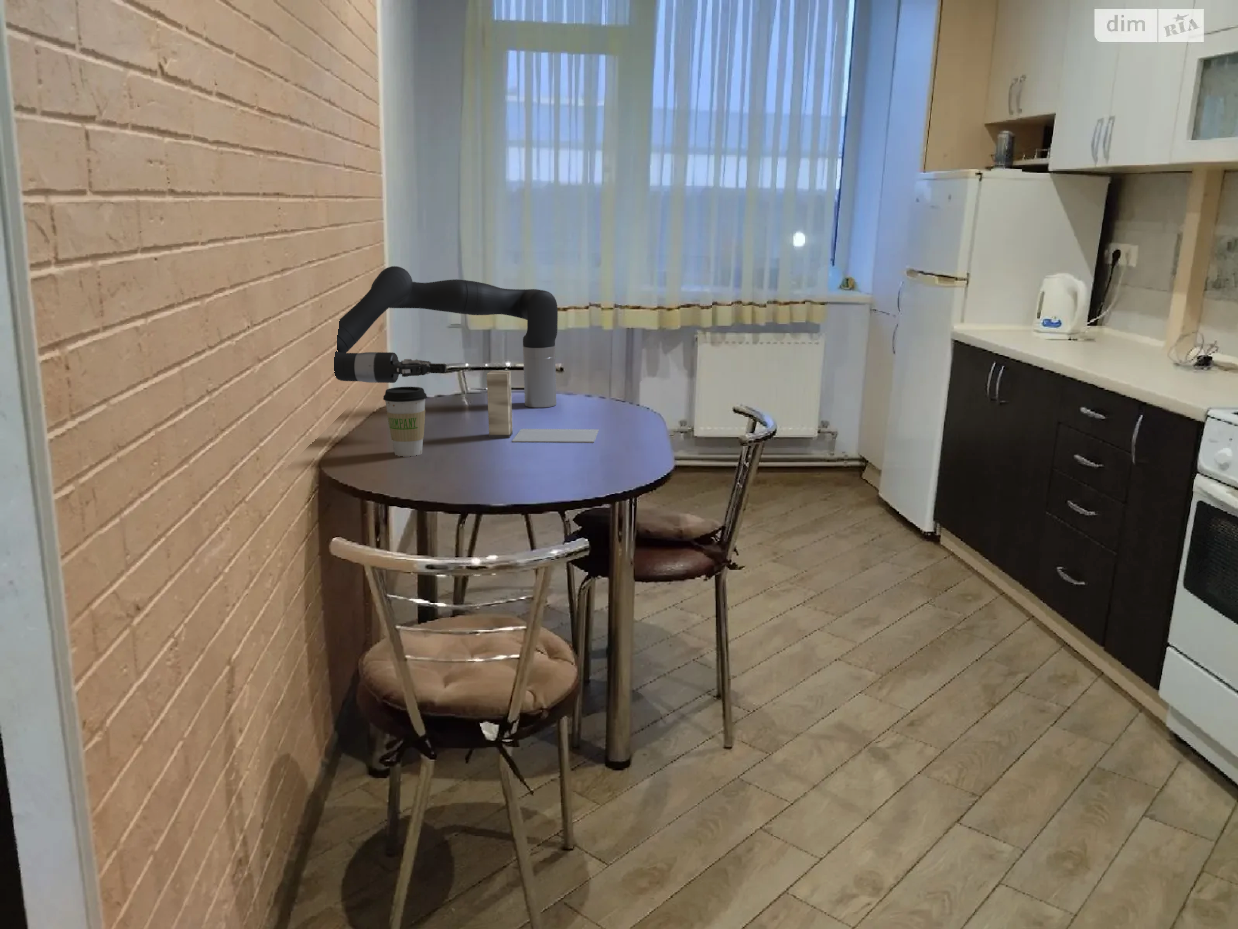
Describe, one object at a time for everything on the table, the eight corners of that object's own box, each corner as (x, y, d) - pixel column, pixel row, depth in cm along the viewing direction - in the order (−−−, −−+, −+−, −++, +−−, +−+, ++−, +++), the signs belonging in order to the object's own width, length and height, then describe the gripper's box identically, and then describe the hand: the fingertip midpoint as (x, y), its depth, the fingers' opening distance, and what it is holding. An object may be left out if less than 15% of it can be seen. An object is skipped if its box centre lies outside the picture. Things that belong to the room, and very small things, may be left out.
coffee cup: (378, 454, 225) (373, 390, 222) (413, 446, 232) (409, 384, 229) (403, 460, 219) (399, 394, 215) (438, 453, 226) (435, 389, 222)
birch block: (493, 433, 246) (490, 370, 243) (512, 433, 246) (510, 370, 242) (489, 437, 242) (486, 373, 238) (509, 438, 241) (506, 373, 237)
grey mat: (521, 430, 250) (521, 428, 250) (598, 430, 249) (598, 429, 249) (512, 442, 237) (512, 440, 237) (593, 442, 236) (593, 441, 236)
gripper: (367, 355, 234) (438, 356, 233) (384, 349, 247) (451, 350, 246) (369, 386, 236) (439, 387, 235) (385, 378, 249) (452, 379, 248)
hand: (445, 368), depth 241 cm, fingers closed
